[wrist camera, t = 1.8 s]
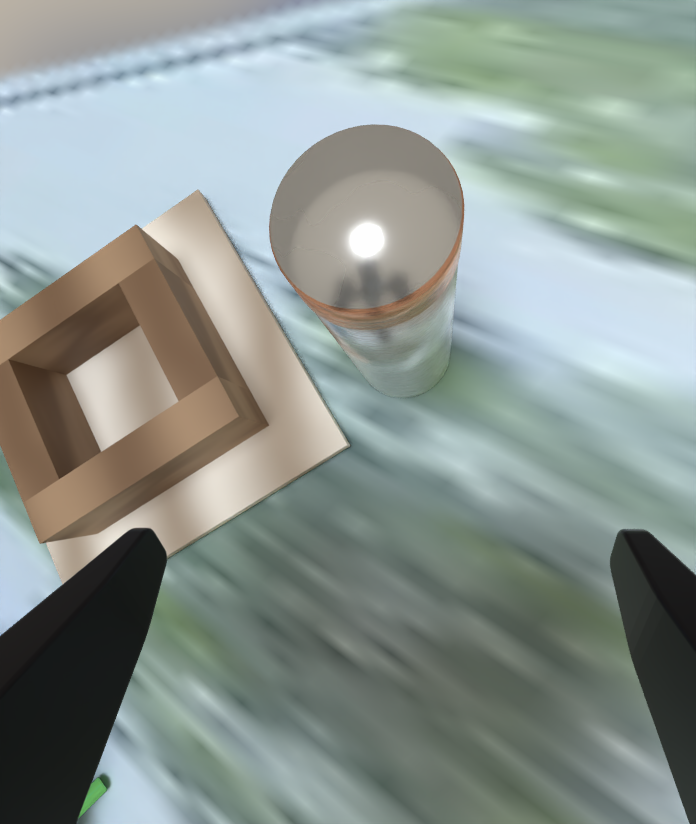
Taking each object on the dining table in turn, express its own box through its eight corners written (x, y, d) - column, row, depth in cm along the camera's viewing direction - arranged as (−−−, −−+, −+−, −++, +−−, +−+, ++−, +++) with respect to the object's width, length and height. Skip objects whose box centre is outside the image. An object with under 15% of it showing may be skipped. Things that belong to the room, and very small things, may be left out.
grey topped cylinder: (387, 416, 22) (327, 348, 10) (340, 340, 23) (235, 196, 11) (470, 366, 22) (506, 233, 10) (418, 290, 23) (395, 86, 11)
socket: (86, 608, 24) (11, 636, 20) (-19, 354, 27) (-101, 332, 23) (350, 445, 23) (330, 439, 18) (205, 197, 26) (160, 144, 22)
